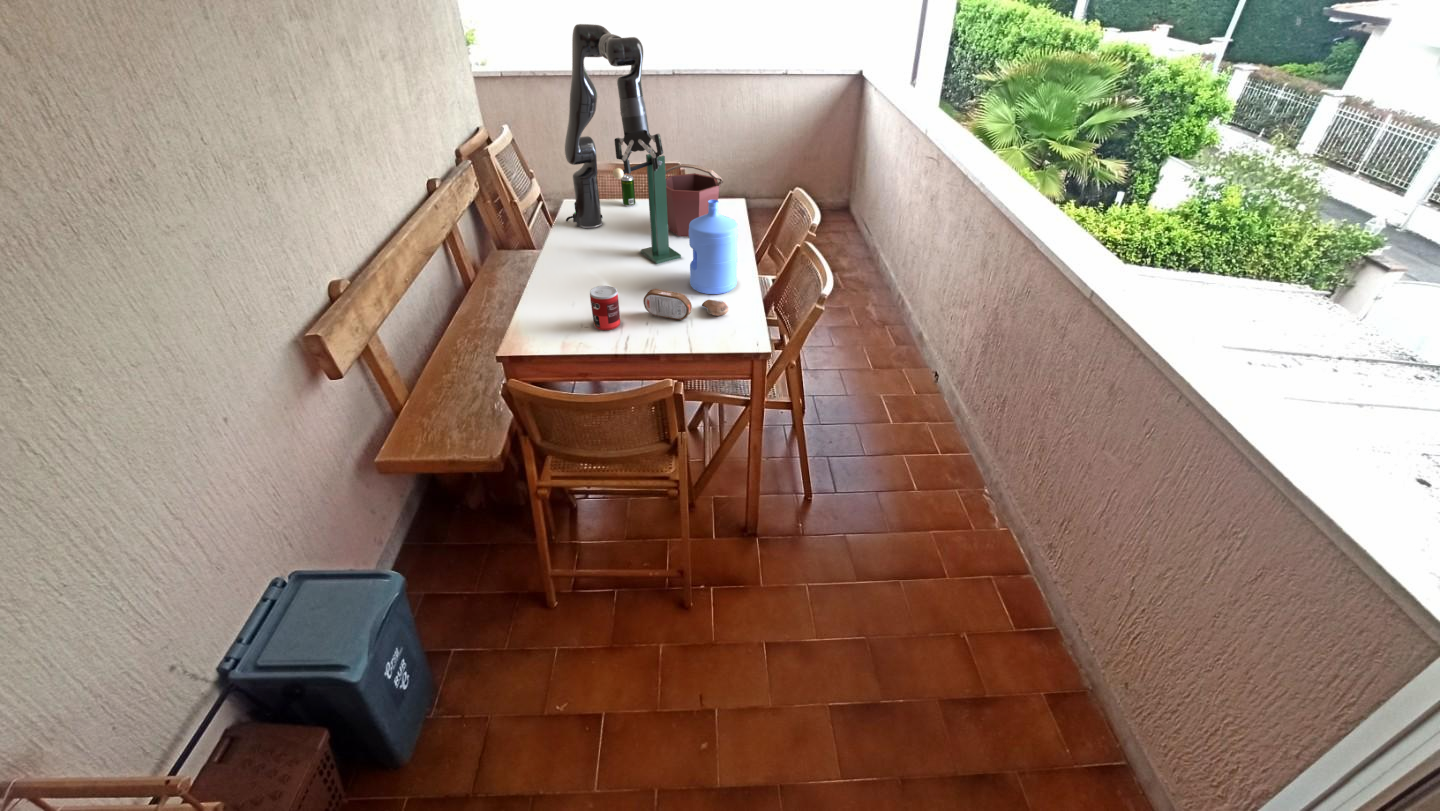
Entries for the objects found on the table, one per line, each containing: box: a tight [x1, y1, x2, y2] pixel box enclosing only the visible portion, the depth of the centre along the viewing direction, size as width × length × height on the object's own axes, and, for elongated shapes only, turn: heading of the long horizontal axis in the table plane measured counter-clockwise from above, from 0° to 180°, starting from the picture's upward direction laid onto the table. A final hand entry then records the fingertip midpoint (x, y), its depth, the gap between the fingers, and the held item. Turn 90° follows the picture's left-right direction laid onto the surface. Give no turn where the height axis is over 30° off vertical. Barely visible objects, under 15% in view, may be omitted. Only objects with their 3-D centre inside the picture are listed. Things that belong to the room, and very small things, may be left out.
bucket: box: [665, 163, 724, 238], centre depth 246 cm, size 24×22×25 cm
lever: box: [612, 157, 652, 180], centre depth 210 cm, size 17×3×3 cm, turn 123°
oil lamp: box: [701, 299, 729, 317], centre depth 198 cm, size 9×4×8 cm
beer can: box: [620, 174, 636, 208], centre depth 273 cm, size 5×5×12 cm
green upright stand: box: [640, 153, 682, 265], centre depth 222 cm, size 10×12×35 cm
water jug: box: [688, 199, 739, 295], centre depth 206 cm, size 16×16×28 cm
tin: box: [642, 288, 693, 321], centre depth 193 cm, size 15×3×8 cm, turn 71°
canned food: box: [589, 285, 621, 331], centre depth 189 cm, size 8×8×11 cm
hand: (642, 172), depth 198 cm, fingers open, 8 cm apart
